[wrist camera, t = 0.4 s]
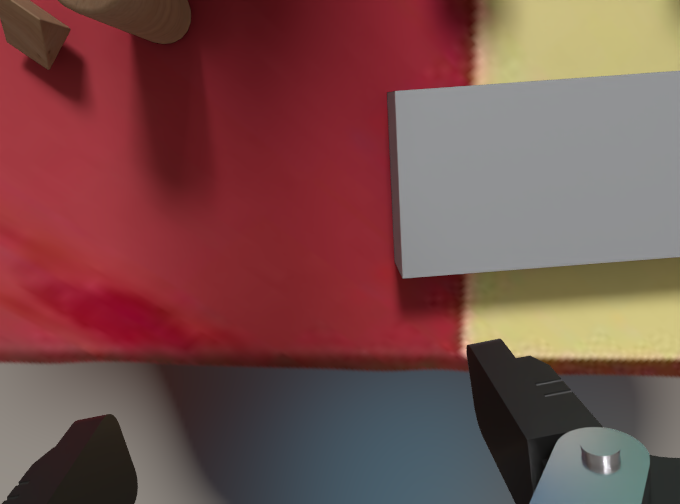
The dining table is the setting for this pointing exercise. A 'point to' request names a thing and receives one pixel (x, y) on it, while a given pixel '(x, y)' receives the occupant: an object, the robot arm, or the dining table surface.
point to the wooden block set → (99, 4)
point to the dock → (535, 174)
